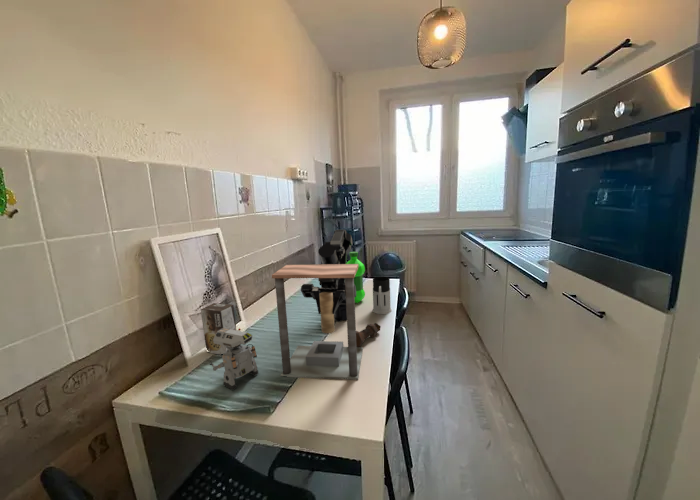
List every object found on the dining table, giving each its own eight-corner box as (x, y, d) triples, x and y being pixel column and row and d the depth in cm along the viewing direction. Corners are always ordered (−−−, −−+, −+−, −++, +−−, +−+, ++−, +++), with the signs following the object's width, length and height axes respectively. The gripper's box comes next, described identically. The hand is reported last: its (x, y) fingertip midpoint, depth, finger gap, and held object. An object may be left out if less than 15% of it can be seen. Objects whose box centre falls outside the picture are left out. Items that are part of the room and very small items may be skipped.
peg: (319, 331, 99) (316, 294, 97) (326, 326, 103) (324, 291, 100) (329, 334, 97) (327, 296, 94) (337, 329, 100) (335, 292, 98)
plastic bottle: (342, 299, 151) (339, 252, 147) (360, 296, 155) (358, 249, 151) (350, 305, 142) (348, 255, 138) (369, 302, 146) (368, 252, 142)
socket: (314, 350, 101) (313, 340, 100) (343, 351, 100) (343, 341, 99) (306, 367, 91) (305, 356, 90) (339, 368, 90) (338, 357, 89)
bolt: (379, 336, 113) (357, 350, 101) (369, 328, 115) (346, 340, 103) (385, 325, 111) (363, 338, 99) (375, 316, 113) (353, 328, 101)
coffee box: (239, 347, 106) (234, 304, 103) (226, 356, 100) (221, 311, 97) (219, 343, 109) (214, 302, 106) (205, 352, 103) (199, 308, 100)
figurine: (238, 365, 94) (233, 321, 91) (262, 376, 87) (257, 329, 85) (211, 380, 86) (205, 332, 84) (235, 393, 80) (229, 342, 77)
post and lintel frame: (298, 347, 104) (291, 261, 98) (362, 348, 101) (359, 260, 95) (280, 376, 87) (271, 274, 81) (358, 379, 84) (354, 274, 78)
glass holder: (391, 307, 138) (391, 276, 135) (390, 319, 124) (390, 285, 122) (373, 306, 140) (372, 276, 137) (370, 318, 126) (369, 285, 123)
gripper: (300, 261, 101) (292, 303, 92) (354, 260, 98) (351, 303, 89) (307, 277, 110) (301, 317, 101) (357, 277, 107) (355, 317, 98)
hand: (326, 313), depth 97 cm, fingers closed on peg, 4 cm apart
